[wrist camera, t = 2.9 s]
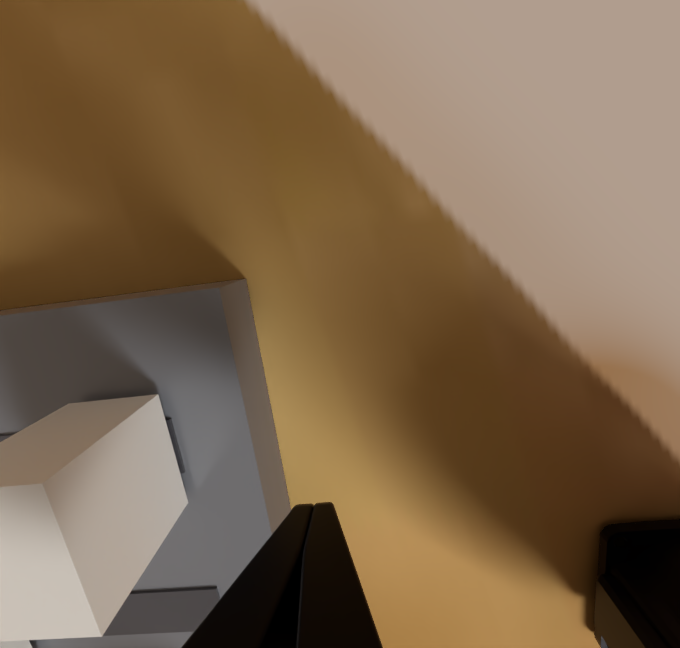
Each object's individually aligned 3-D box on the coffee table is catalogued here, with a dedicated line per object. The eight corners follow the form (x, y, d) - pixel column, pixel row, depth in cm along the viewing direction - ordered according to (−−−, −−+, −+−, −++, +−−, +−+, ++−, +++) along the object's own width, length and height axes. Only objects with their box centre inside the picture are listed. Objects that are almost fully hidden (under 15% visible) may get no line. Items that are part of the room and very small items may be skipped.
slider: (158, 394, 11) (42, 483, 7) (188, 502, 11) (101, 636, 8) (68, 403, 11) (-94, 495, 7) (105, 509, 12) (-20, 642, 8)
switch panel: (246, 278, 12) (216, 288, 10) (334, 730, 18) (330, 813, 15) (-184, 334, 14) (-310, 355, 11) (21, 737, 19) (-31, 815, 17)
